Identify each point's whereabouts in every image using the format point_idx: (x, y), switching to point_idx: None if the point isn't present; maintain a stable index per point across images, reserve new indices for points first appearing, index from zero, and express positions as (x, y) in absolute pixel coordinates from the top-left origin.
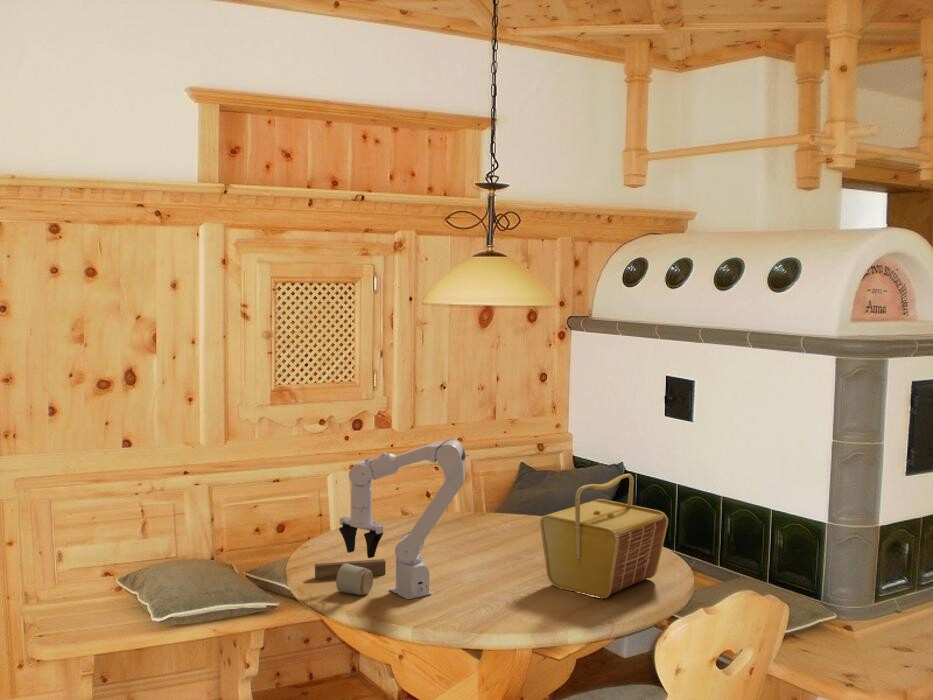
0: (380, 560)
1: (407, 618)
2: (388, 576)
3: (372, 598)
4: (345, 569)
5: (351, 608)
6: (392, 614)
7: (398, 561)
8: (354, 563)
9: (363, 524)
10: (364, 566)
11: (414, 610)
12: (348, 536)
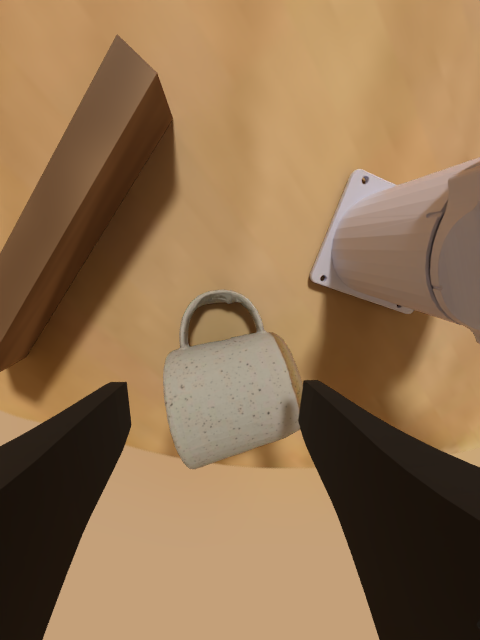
0: (123, 82)
1: (459, 411)
2: (200, 131)
3: (306, 366)
4: (217, 460)
5: (304, 448)
6: (415, 415)
7: (470, 329)
8: (62, 236)
9: None
10: (100, 194)
11: (455, 362)
12: (49, 577)
